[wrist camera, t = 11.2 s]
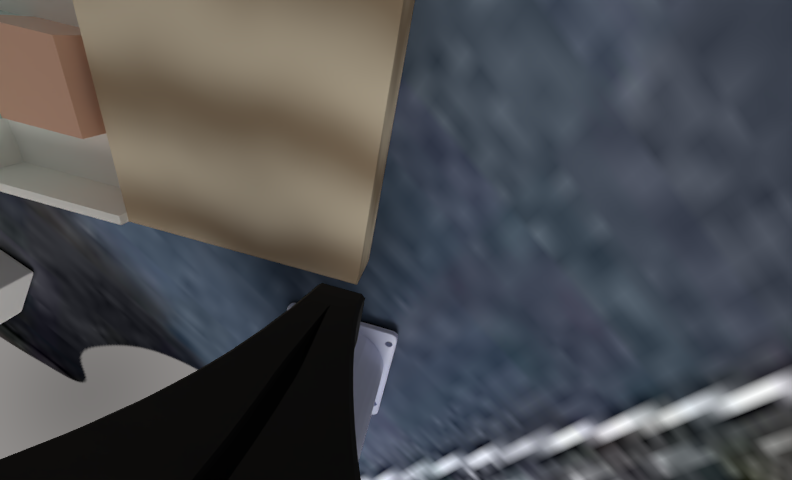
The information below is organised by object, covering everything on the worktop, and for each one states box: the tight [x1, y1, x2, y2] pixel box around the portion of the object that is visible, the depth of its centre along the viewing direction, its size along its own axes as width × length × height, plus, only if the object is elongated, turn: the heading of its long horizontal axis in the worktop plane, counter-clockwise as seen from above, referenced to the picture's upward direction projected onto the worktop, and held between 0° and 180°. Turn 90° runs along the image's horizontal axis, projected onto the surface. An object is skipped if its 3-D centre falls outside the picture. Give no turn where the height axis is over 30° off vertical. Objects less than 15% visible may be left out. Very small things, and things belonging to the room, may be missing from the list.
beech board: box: [72, 0, 415, 285], centre depth 17 cm, size 14×14×2 cm
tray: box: [0, 0, 129, 225], centre depth 17 cm, size 14×10×4 cm
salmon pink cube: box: [0, 15, 106, 139], centre depth 17 cm, size 4×4×3 cm
